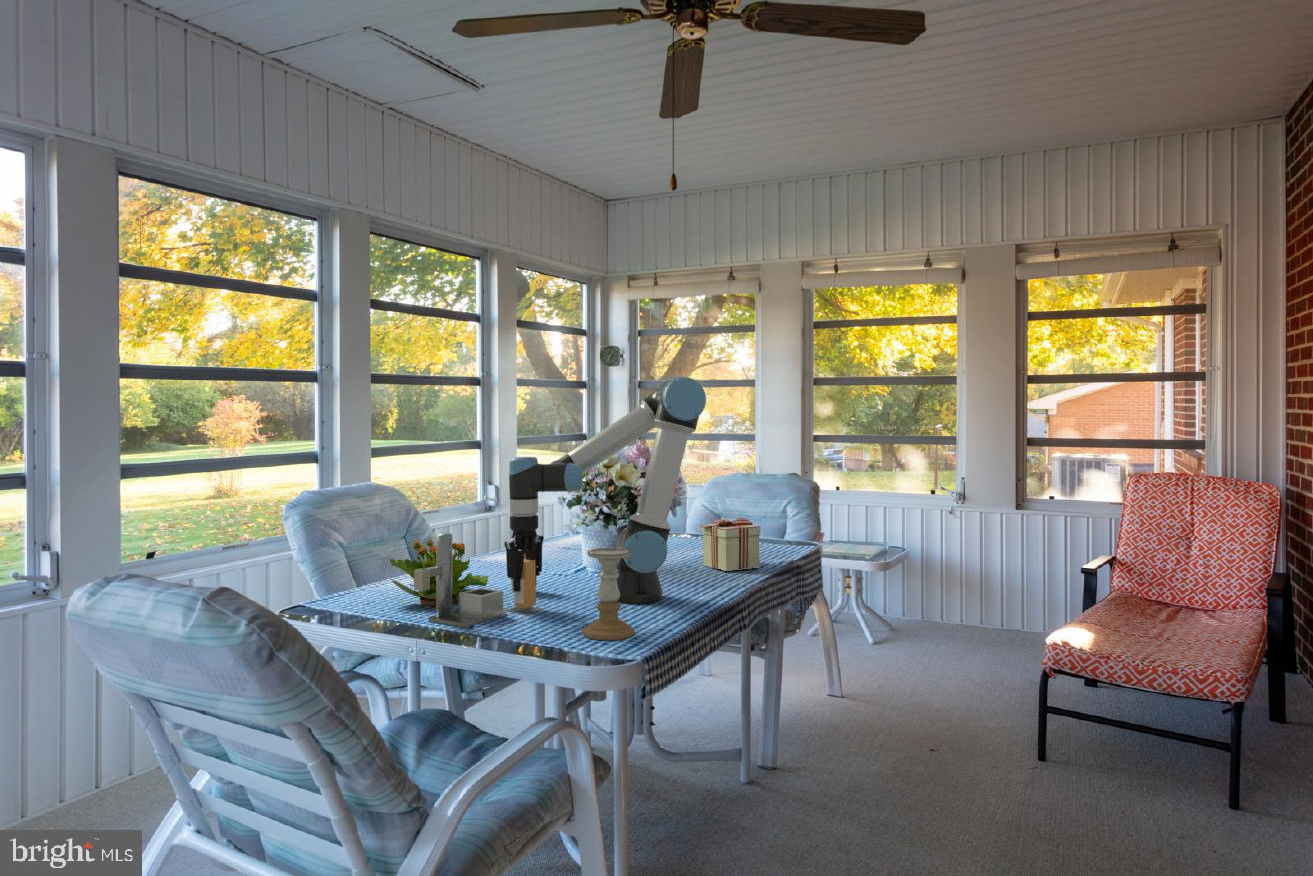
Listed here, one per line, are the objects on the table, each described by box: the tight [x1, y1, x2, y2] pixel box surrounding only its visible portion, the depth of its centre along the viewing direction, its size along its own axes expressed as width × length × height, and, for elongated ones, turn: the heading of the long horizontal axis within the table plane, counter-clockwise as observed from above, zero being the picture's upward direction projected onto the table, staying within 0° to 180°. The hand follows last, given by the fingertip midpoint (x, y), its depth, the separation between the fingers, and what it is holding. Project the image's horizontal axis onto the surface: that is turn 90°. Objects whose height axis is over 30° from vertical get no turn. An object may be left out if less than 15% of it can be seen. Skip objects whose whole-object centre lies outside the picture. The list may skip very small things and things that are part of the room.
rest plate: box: [503, 606, 544, 616], centre depth 223 cm, size 8×8×1 cm
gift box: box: [699, 517, 761, 572], centre depth 292 cm, size 17×18×17 cm
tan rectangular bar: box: [514, 559, 537, 608], centre depth 223 cm, size 4×4×12 cm
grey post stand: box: [413, 532, 508, 630], centre depth 212 cm, size 14×19×22 cm
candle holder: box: [582, 547, 635, 641], centre depth 201 cm, size 12×12×20 cm
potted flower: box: [389, 538, 489, 607], centre depth 233 cm, size 25×24×18 cm
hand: (525, 601), depth 223 cm, fingers closed on tan rectangular bar, 4 cm apart
